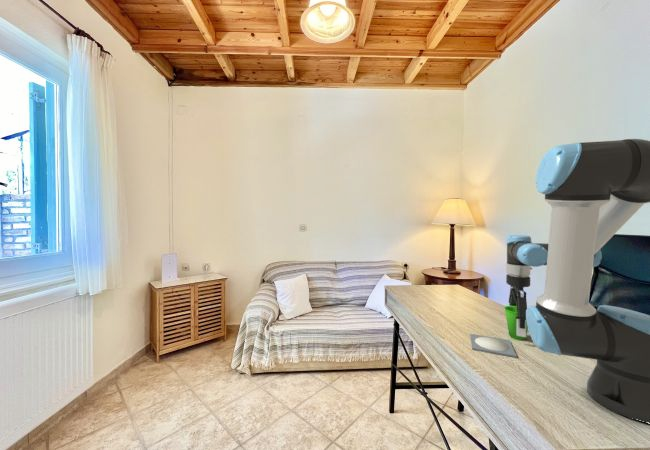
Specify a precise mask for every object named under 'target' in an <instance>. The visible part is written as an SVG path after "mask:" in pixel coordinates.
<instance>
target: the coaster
mask: <svg viewBox="0 0 650 450" xmlns="http://www.w3.org/2000/svg"><path fill="white" fill-rule="evenodd" d="M469 336H470V337H469V338H470V344H471V349H472V350H473V351H478V352H484V353H487V354H488V353H489V354H493V355H500V356H505V357H510V358H515V359H517V358H518V356H517V353H516V351H515V350H514V349H515V348H514V347H513V344H512V343H511V340H510V339H506V338H500V337H499V338H498V337H492V336H486V335H480V334H474V333H469Z"/></svg>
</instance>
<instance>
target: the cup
mask: <svg viewBox="0 0 650 450" xmlns="http://www.w3.org/2000/svg"><path fill="white" fill-rule="evenodd" d="M503 309H504V311H505V319H506V324H507V325H506V326H507V330H508V335H509V337H510V338H512V339H514V340H517V341H525V340H526V339H527V334H528V331H529V330H528V326H527V321H526V337H521V336H517V319H516V318H515V317H516V316H517V317H518V315H517V307H516V306H510V305H505V306H503ZM521 316H524V315H521Z"/></svg>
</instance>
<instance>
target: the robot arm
mask: <svg viewBox="0 0 650 450" xmlns="http://www.w3.org/2000/svg"><path fill="white" fill-rule="evenodd" d="M538 165H539V166H538V168H537V171H536V176H535V184H536V186H535V188H536V189H537V192H539V193H540V194H543V195H544V201H545V202H547V203H548V204H549V205H550V206H551V212H550V224H549V233H548V234H549V236H548V243H545V242H544V243H542V242H541V243H540V242H539V243H537V242H536V243H535V242H534V243H533V242H532V238H531V236H530V235H525V234H524V235H521V234H511V235H508V236H507V240H506V265H505V266H506V268H505V269H506V270H505V271H506V277H505V278H506V284H507V285H509V286H510V290H509V295H508V296H509V297H508V303H509V305H508V306H516V307H517V315H518V317H517V316H516V317H515V318H516V319H517V336H521V337H526V338H527V335H526V321H527V326H528V330H527V331H528V333H529V336H530V337H531V340H532V342H533V344H534V345H535V346H536V347H537V349H538V350H540V351H542V352H544V353H548V354H554V355H557V356H568V357H576V358H583V359H591V360H595V361H596V365H595V366H594V369H593V370H592V372H591V374H590V376H589V378H588V379H587V382H586V392H587V394H588V395H589V396H590V397H591V398H592V399H593V400H594V401H595V402H597V403H598V404H599V405H601V406H602V407H605V408H606V409H607V410H610V411H612V412H614V413H615V414H618V413H619V414H618V415H620V414H622V415H624V416H623V417H625V416H627V417H630V418H633V419H638V420H641V421H644V422H649V423H650V314H646V313H642V312H641V311H640V312H639V311H636V310H632V309H629V308H623V307H619V306H613V305H605V304H601V305H599V306H598V307H597V308H595V307H594V306H593V304H591V303H590V297H591V296H590V295H591V294H590V292H591V287H592V286H591V285H592V277H593V268H595V267H598V266H599V265H600V264H601V261H602V260H603V259H602V258H603V255H602V250H601V249H602V248H603V247H604V246H605V245H606V244H607V243H608V242H609V241H610V240H611V239H612V237H613V236H615V234H616V233H617V232H618V231H620V229H621V228H622V227H623V226H624V225H625V224H626V223H627V222H628V221H629V220H630V219H631V218H632V217H633V216H634V215H635V214H636V213H637V212H638V210H640V209H641V208H642V206H644V205H645V204H648V203H650V140H648V139H647V140H646V139H642V138H641V139H640V138H627V139H619V140H618V139H617V140H604V141H603V140H601V141H588V142H586V141H584V142H572V143H567V144H560V145H556V146H553V147H552V148H550V149H549V150H548V151H546V152H545V154H544V156H543V157H542V158H541V160H540V162H539V164H538ZM542 266H546V270H545V281H544V283H545V284H544V293H543V294H541V295H539V296H538V297H537V298H536V304H535V305H529V306H528V305H527V304H528V303H527V302H528V301H527V292H526V291H525V290H524V288H529V287H530V286H531V271H532V270H533V267H534V268H535V267H537V268H538V267H542ZM521 315H524V316H521ZM622 415H621V416H622ZM627 417H626V418H627ZM630 418H629V419H630ZM633 419H632V420H633Z"/></svg>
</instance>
